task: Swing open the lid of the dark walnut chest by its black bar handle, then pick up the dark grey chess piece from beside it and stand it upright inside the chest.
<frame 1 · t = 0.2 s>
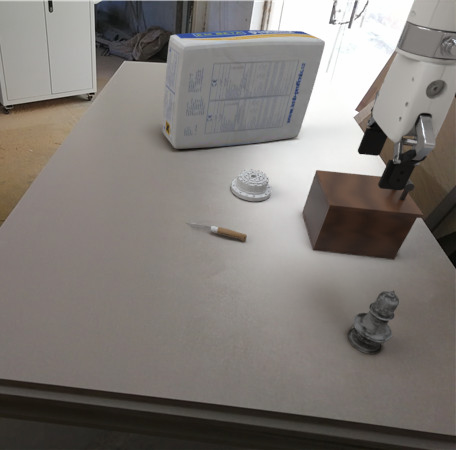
hand: (378, 170, 58), 27 cm above the table, tool pointing down, fingers open, 9 cm apart
folding knife: (214, 234, 88), on the table
dark grey chess piece: (363, 341, 67), on the table
construction material bag: (230, 138, 126), on the table
mechanical component: (250, 191, 102), on the table
chest: (344, 234, 90), on the table
lid: (368, 184, 82), point 13 cm above the table, hinge at 0.0°
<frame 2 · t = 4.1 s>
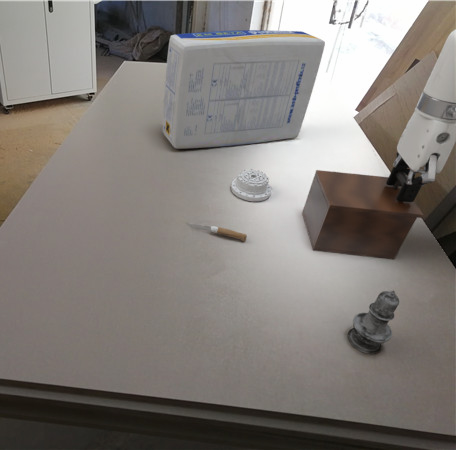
hand: (399, 192, 82), 12 cm above the table, tool pointing down, fingers closed on lid, 5 cm apart
lid: (368, 184, 82), point 13 cm above the table, hinge at 0.0°, touching gripper
everything else where it was.
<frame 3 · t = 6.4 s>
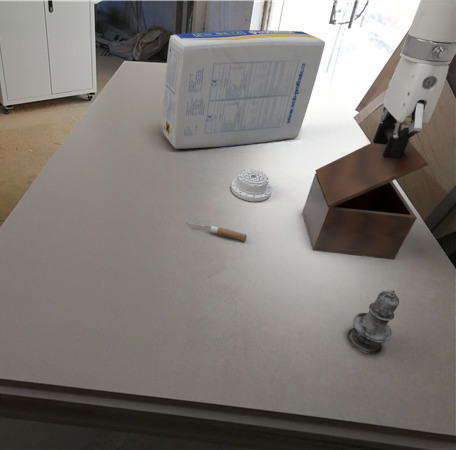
hand: (386, 149, 77), 21 cm above the table, tool pointing down, fingers closed on lid, 5 cm apart
lid: (361, 160, 79), point 18 cm above the table, hinge at 39.3°, touching gripper
everything else where it was.
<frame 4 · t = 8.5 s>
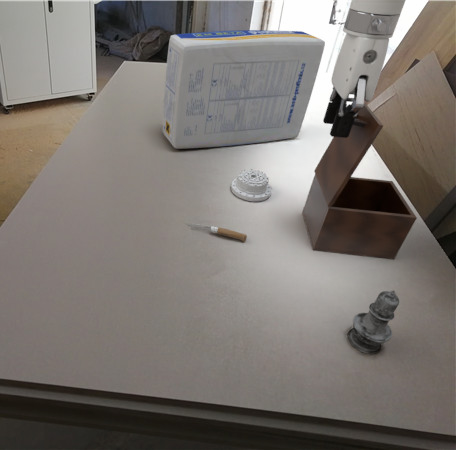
hand: (335, 128, 76), 24 cm above the table, tool pointing down, fingers closed on lid, 5 cm apart
lid: (334, 148, 78), point 20 cm above the table, hinge at 79.1°, touching gripper
everything else where it was.
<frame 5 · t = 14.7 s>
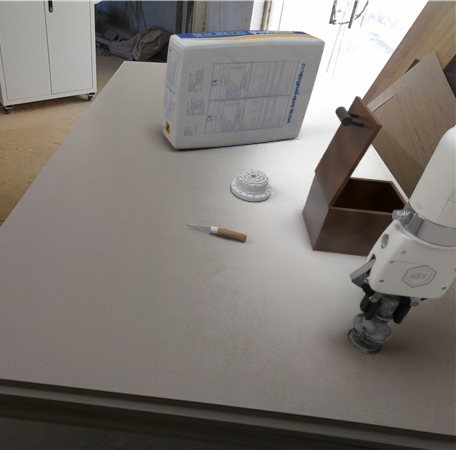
hand: (379, 314, 63), 7 cm above the table, tool pointing down, fingers closed on dark grey chess piece, 3 cm apart
dark grey chess piece: (363, 341, 67), on the table, touching gripper
lid: (334, 148, 78), point 20 cm above the table, hinge at 79.6°
everything else where it was.
when the fingers open (7 cm above the table, at t = 23.9 s): dark grey chess piece stays where it is, resting on chest.
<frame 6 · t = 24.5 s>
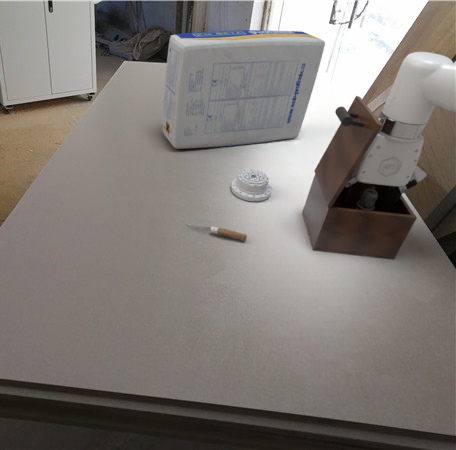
hand: (365, 202, 84), 9 cm above the table, tool pointing down, fingers open, 9 cm apart
dark grey chess piece: (353, 233, 89), point 1 cm above the table, touching chest
everything else where it was.
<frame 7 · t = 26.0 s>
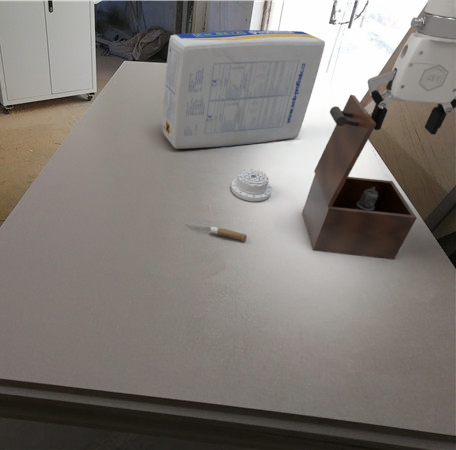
hand: (402, 129, 74), 25 cm above the table, tool pointing down, fingers open, 9 cm apart
lid: (330, 148, 78), point 20 cm above the table, hinge at 83.3°
everything else where it was.
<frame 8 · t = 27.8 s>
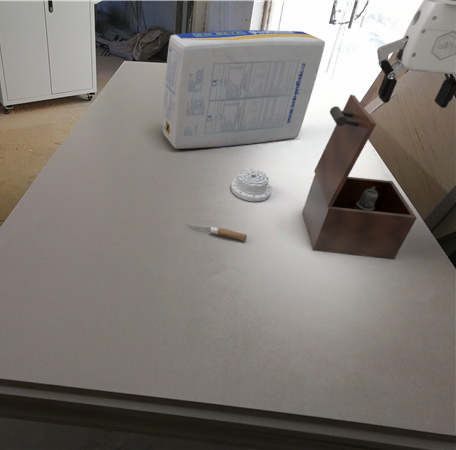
hand: (411, 102, 71), 30 cm above the table, tool pointing down, fingers open, 9 cm apart
nothing on the table moved.
at the end: lid at +83° (first picture: +0°); dark grey chess piece inside the target area in the chest (1.6 cm from its centre), point 0.6 cm above the chest's base; dark grey chess piece tilted 0° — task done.
